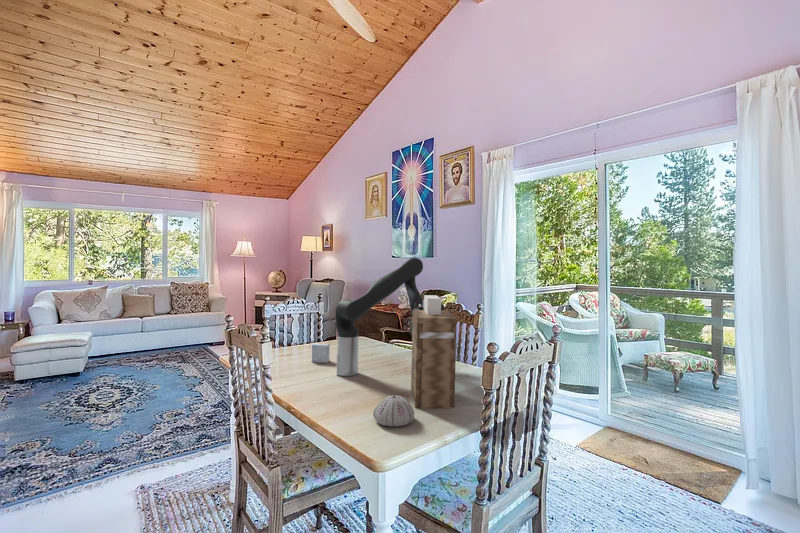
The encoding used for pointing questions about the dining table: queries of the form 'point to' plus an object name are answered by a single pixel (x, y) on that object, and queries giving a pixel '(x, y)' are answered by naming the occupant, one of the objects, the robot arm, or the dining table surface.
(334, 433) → the dining table surface
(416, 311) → the shelf unit
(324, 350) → the medicine box
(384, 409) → the sea urchin shell
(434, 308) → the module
